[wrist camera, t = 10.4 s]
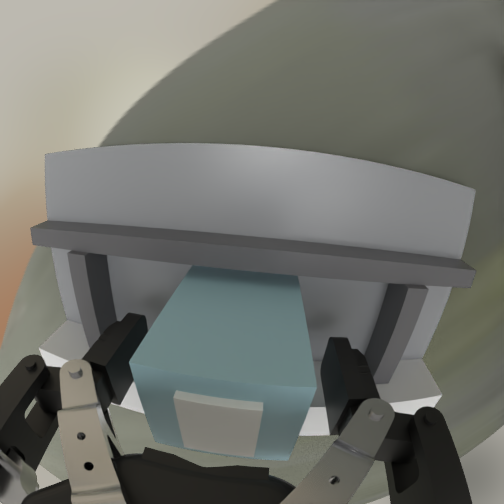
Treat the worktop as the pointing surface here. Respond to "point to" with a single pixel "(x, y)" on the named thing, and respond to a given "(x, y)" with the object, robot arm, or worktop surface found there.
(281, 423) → the block
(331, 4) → the worktop surface
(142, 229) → the rail mount
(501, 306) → the worktop surface
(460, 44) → the worktop surface
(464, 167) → the worktop surface
